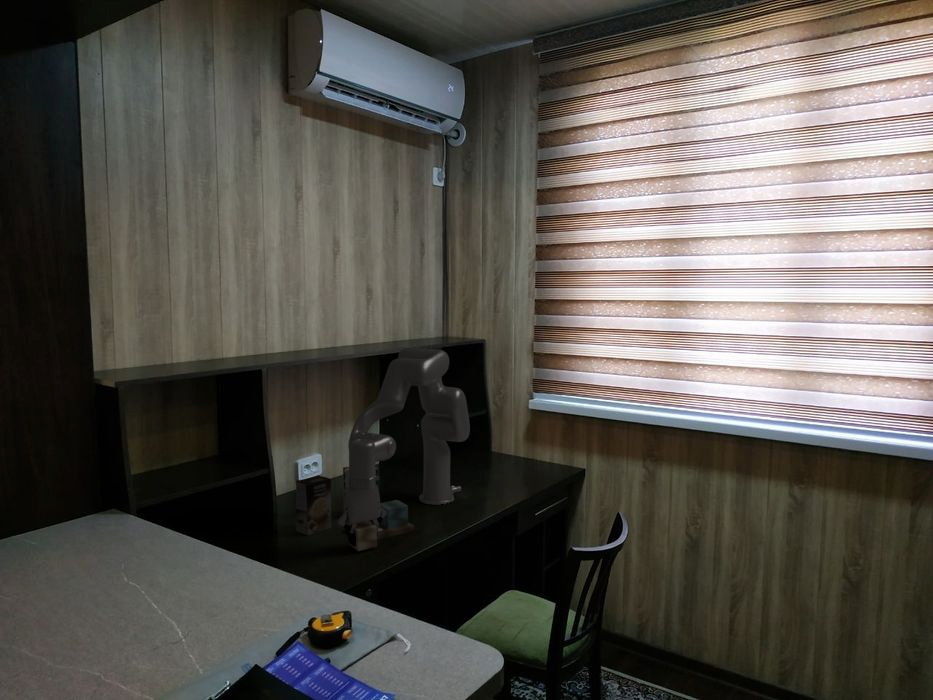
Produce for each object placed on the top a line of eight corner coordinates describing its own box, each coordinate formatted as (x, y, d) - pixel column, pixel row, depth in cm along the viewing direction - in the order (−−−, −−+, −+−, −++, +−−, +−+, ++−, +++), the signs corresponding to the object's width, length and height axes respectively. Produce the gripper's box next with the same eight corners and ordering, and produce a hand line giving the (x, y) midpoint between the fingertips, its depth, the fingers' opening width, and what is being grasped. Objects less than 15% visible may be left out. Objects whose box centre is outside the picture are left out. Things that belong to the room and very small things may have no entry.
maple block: (367, 539, 201) (367, 520, 200) (376, 546, 196) (376, 526, 195) (349, 544, 198) (348, 524, 197) (358, 551, 193) (357, 531, 192)
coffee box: (308, 536, 206) (307, 485, 204) (295, 531, 210) (294, 480, 208) (332, 528, 213) (331, 478, 211) (319, 523, 217) (318, 474, 215)
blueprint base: (396, 519, 221) (396, 497, 220) (414, 530, 211) (414, 507, 210) (345, 530, 211) (345, 507, 210) (362, 542, 201) (362, 518, 200)
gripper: (382, 474, 203) (383, 532, 205) (329, 484, 193) (330, 544, 195) (394, 480, 197) (395, 540, 198) (340, 491, 187) (341, 553, 189)
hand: (363, 541), depth 197 cm, fingers closed on maple block, 6 cm apart
